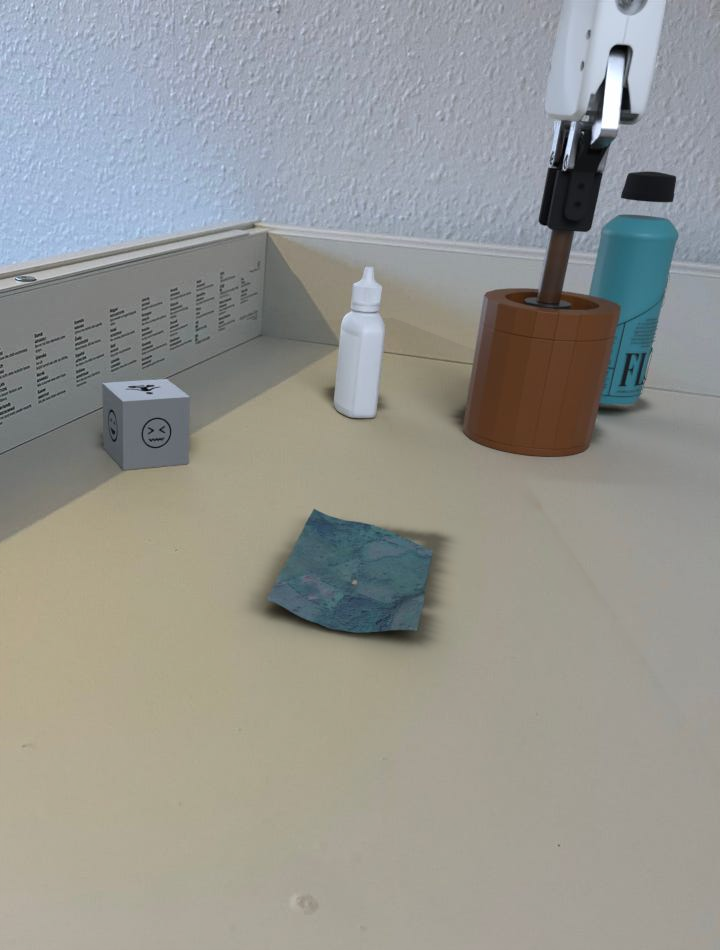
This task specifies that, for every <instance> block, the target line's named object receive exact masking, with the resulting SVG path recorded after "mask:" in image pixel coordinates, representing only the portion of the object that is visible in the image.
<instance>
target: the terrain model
mask: <svg viewBox="0 0 720 950" xmlns="http://www.w3.org/2000/svg"><path fill="white" fill-rule="evenodd" d="M433 553H434V549H431V548H428V547H426V546H423V545H421V544H418V543H416V542H415V541H413V540H411V539H409V538H405V537H403V536H402V535H399V534H397V533H395V532H393V531H390V530H388V529H386V528H382V527H380V526H377V525H374V524H371V523H365V522H361V521H354V520H345V519H341V518H337V517H334V516H331V515H328V514H326V513H324V512H321V511H320V510H317V509H315V508H313V510H312V512H311V513H310V515H309V517H308V518H307V520H306V523H305V524H304V527H303V528H302V531H301V532H300V534H299V535H298V537H297V540H296V542H295V544H294V546H293V549H292V551H291V552H290V555H289V556H288V557H287V560H286V562H285V563H284V566H283V568H282V569H281V571H280V572H279V574H278V577H277V579H276V582H275V584H274V585H273V587H272V589H271V591H270V593H269V594H268V595H267V598H266V600H267V601H269V602H272V603H275V604H277V605H278V606H281V607H282V608H284V609H286V610H287V611H289V612H290V613H293V615H296V616H298V617H300V618H302V619H304V620H306V621H309V622H311V623H314V624H318V625H320V626H323V627H325V628H327V629H330V630H335V631H342V632H349V633H355V634H356V633H358V634H361V633H363V634H364V633H379V632H387V631H388V632H389V631H416V632H417V631H418V628H419V625H420V619H421V615H422V611H423V606H424V602H425V595H426V593H425V587H426V583H427V581H428V580H427V579H428V575H429V570H430V564H431V560H432V556H433Z"/></svg>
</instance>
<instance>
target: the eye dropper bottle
mask: <svg viewBox="0 0 720 950" xmlns="http://www.w3.org/2000/svg"><path fill="white" fill-rule="evenodd" d="M382 292H383V286H382V284H380V283H378V282H377V281H376V278H375V267H373V266H365V267H364V270H363V273H362V277H361V279H360V280H359V281H356V282H354V283H353V284H352V291H351V301H350V309H351V310H350V311H349V312H347V313H346V314H345V315H344V316H343V317H342V320H341V325H340V332H339V334H340V335H339V343H338V352H337V365H336V372H335V385H334V396H333V406H334V409H335V410H336V411H337V412H339V413H340V414H341V415H343V416H345V417H347V418H350V419H373V418H375V417H376V415H377V410H378V404H379V403H378V402H379V395H380V394H379V392H380V385H381V378H382V370H383V369H382V368H383V361H384V352H385V351H384V350H385V349H384V348H385V343H386V341H385V340H386V325H385V321H384V320H383V317H382V316H381V315H380V313H379V311H380V310H381V301H382Z"/></svg>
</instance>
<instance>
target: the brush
mask: <svg viewBox="0 0 720 950" xmlns="http://www.w3.org/2000/svg"><path fill="white" fill-rule="evenodd" d="M566 147H567V146H566ZM565 152H566V150H565ZM564 157H565V156H564ZM563 163H564V161H563ZM562 170H563V166H562ZM574 236H575V231H562V230H551V229H549V233H548V239H547V243H546V248H545V254H544V258H543V264H542V269H541V274H540V278H539V284H538V288H537V289H538V294H537V297H533V298H526V299H525V300H524V304H525V305H529V306H535V307H541V308H551V309H564V310H570V309H571V303H569V302H566V301H563V300H560V299H561V294H562V291H563V289H564V283H565V280H566V279H565V278H566V274H567V269H568V264H569V261H570V256H571V250H572V245H573V240H574Z"/></svg>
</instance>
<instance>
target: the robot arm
mask: <svg viewBox="0 0 720 950" xmlns="http://www.w3.org/2000/svg"><path fill="white" fill-rule="evenodd" d="M666 5H667V0H563V2H562V7H561V12H560V17H559V21H558V26H557V31H556V36H555V40H554V44H553V49H552V56H551V60H550V65H549V72H548V77H547V83H546V91H545V99H544V110H545V113H546V114H547V115H548V116H549V117H550V118H551V119H552V120H554V122H553V127H552V129H553V133H554V134H553V138H552V144H551V149H550V155H549V161H548V166H549V167H547V172H546V176H545V182H544V187H543V192H542V193H543V194H542V197H541V198H542V199H541V204H540V209H539V215H538V223H539V225H541V226H545V227H547V228H548V229H549V230H550V229H551V230H562V231H574V232H578V233H580V232H581V233H587V232H589V231H590V230H591V229H592V226H593V222H594V217H595V212H596V207H597V203H598V198H599V194H600V190H601V185H602V179H603V175H604V174H603V173H604V171H605V169H606V166H607V160H608V156H609V152H610V147H611V144H612V143H613V142H614V141H615V139H616V138H617V136H618V134H619V129H620V125H623V126H625V125H626V126H633V125H636V124H637V123H639V122H640V121H641V120H642V119H643V118H644V116H645V115H646V112H647V109H648V104H649V99H650V95H651V90H652V85H653V79H654V75H655V69H656V63H657V57H658V54H659V53H658V52H659V47H660V42H661V37H662V36H661V35H662V31H663V25H664V19H665V13H666ZM585 116H588V119H587V120H588V121H587V120H583V119H584V117H585ZM566 146H567V147H566ZM565 150H566V152H565ZM564 156H565V157H564ZM563 161H564V163H563ZM562 166H563V170H562Z"/></svg>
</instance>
